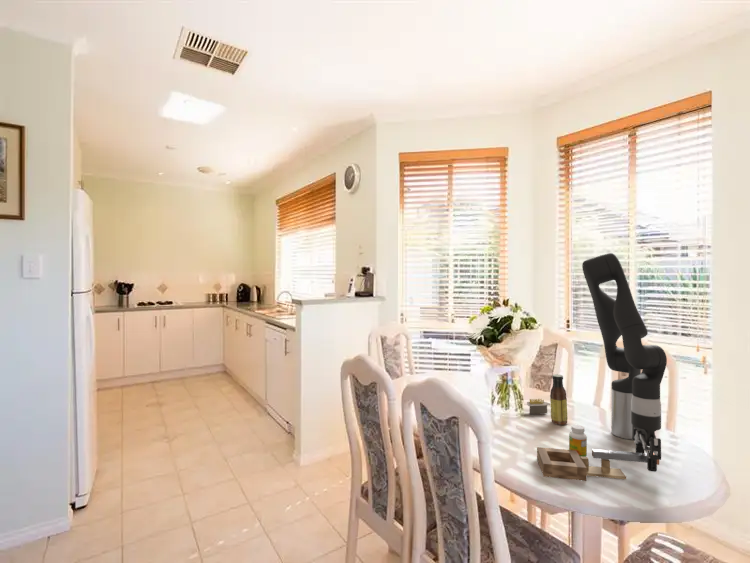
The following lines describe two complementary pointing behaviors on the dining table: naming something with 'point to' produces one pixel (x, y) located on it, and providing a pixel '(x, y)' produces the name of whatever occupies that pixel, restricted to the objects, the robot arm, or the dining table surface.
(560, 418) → the sauce bottle
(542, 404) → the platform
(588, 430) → the dining table surface
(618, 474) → the mount
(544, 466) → the socket
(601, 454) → the grey bar
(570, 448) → the supplement bottle
